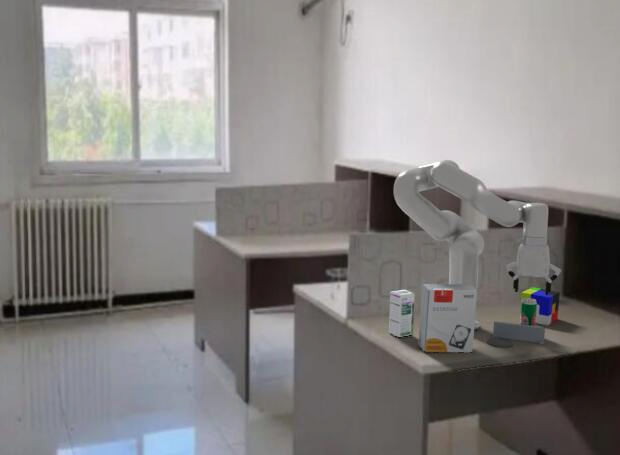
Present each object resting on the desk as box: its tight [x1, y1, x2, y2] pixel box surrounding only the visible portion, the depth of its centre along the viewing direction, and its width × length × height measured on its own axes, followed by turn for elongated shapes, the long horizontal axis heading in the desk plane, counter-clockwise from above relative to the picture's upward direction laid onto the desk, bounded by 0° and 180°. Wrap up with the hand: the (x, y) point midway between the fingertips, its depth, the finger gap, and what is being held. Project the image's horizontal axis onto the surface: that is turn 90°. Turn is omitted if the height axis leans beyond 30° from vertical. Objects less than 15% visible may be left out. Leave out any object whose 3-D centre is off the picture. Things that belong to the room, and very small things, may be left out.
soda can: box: [519, 298, 537, 326], centre depth 250 cm, size 5×5×12 cm
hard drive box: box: [418, 283, 478, 353], centre depth 233 cm, size 16×8×20 cm, turn 96°
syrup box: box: [388, 289, 416, 337], centre depth 246 cm, size 6×6×14 cm
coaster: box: [486, 337, 514, 348], centre depth 241 cm, size 8×8×1 cm
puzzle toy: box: [519, 286, 561, 326], centre depth 268 cm, size 10×10×10 cm
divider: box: [491, 320, 546, 345], centre depth 245 cm, size 16×4×5 cm, turn 68°
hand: (531, 292), depth 248 cm, fingers open, 9 cm apart
